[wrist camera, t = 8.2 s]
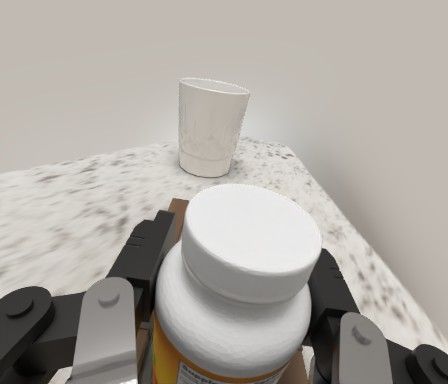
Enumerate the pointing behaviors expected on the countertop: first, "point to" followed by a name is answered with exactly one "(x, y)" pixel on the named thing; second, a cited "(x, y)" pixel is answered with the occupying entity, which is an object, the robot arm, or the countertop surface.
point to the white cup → (209, 125)
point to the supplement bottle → (234, 289)
